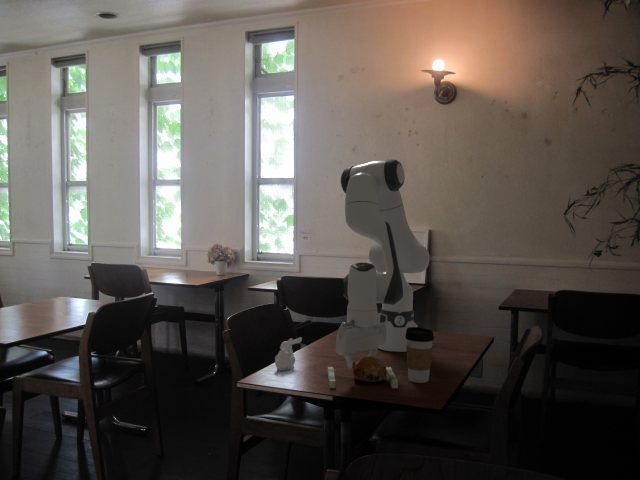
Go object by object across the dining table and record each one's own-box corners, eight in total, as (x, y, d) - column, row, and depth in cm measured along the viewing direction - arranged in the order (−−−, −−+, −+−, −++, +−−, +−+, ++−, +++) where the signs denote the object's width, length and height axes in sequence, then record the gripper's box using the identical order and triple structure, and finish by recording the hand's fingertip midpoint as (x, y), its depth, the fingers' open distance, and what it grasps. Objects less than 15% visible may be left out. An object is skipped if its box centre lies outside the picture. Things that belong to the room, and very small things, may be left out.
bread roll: (387, 389, 170) (390, 363, 173) (382, 381, 161) (385, 353, 164) (354, 385, 173) (357, 359, 176) (348, 377, 164) (352, 350, 167)
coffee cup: (413, 373, 176) (414, 325, 175) (438, 379, 170) (439, 329, 169) (398, 380, 169) (399, 329, 168) (424, 386, 164) (425, 334, 163)
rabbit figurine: (282, 361, 188) (282, 332, 187) (304, 363, 186) (304, 333, 185) (271, 372, 176) (271, 340, 175) (295, 373, 174) (295, 342, 174)
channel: (327, 373, 175) (327, 366, 175) (390, 373, 175) (390, 367, 175) (329, 388, 161) (329, 381, 161) (397, 388, 161) (398, 381, 161)
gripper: (347, 325, 160) (347, 374, 161) (390, 315, 175) (389, 360, 176) (330, 321, 164) (330, 369, 165) (374, 312, 179) (373, 356, 180)
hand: (361, 364), depth 170 cm, fingers open, 8 cm apart
